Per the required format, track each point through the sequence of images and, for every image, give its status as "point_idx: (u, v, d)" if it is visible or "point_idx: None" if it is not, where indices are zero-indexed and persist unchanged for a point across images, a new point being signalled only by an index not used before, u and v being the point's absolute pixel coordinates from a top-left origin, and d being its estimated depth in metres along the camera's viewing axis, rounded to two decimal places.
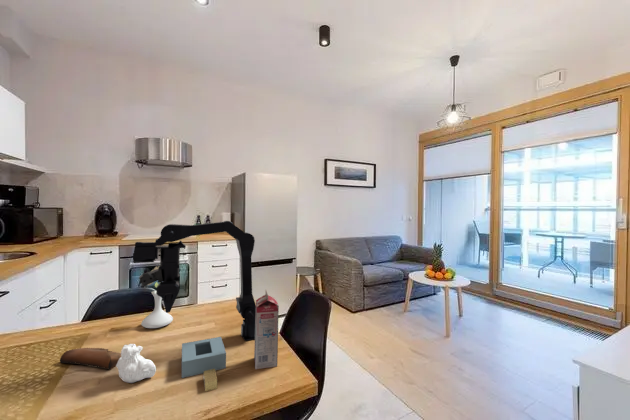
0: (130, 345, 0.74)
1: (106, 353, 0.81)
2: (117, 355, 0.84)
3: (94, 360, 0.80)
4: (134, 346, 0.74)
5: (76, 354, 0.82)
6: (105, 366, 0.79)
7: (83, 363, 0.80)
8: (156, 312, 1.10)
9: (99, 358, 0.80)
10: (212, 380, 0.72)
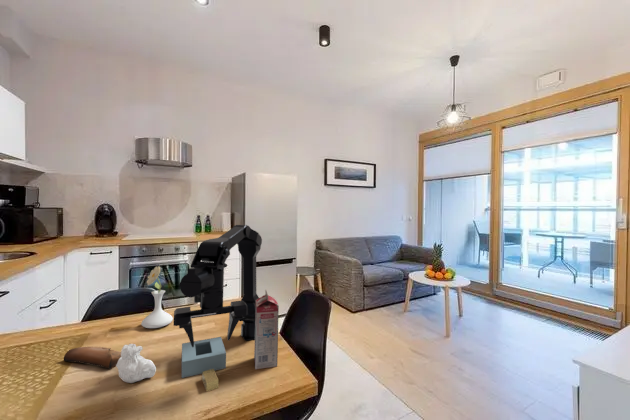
0: (130, 345, 0.74)
1: (107, 352, 0.82)
2: (118, 354, 0.84)
3: (96, 359, 0.80)
4: (134, 346, 0.74)
5: (79, 353, 0.83)
6: (106, 365, 0.79)
7: (85, 362, 0.81)
8: (156, 312, 1.10)
9: (100, 358, 0.80)
10: (213, 379, 0.72)
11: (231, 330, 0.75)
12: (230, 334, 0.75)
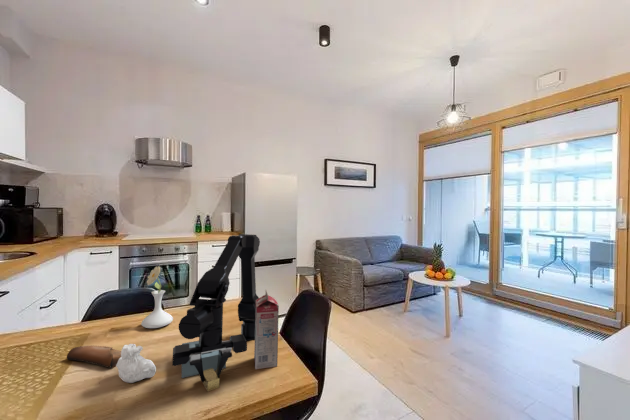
0: (130, 345, 0.74)
1: (109, 351, 0.82)
2: (120, 354, 0.85)
3: (98, 358, 0.81)
4: (134, 346, 0.74)
5: (82, 352, 0.83)
6: (107, 364, 0.80)
7: (87, 361, 0.82)
8: (156, 312, 1.10)
9: (102, 357, 0.81)
10: (214, 378, 0.72)
11: (220, 369, 0.73)
12: (219, 372, 0.74)
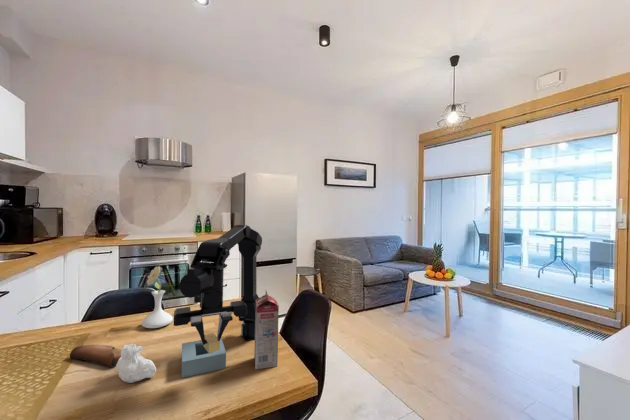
0: (130, 346, 0.74)
1: (110, 351, 0.83)
2: None
3: (99, 358, 0.81)
4: (134, 346, 0.74)
5: (84, 351, 0.84)
6: (108, 364, 0.80)
7: (89, 360, 0.82)
8: (156, 312, 1.10)
9: (103, 356, 0.81)
10: (215, 341, 0.73)
11: (220, 332, 0.74)
12: (220, 336, 0.74)
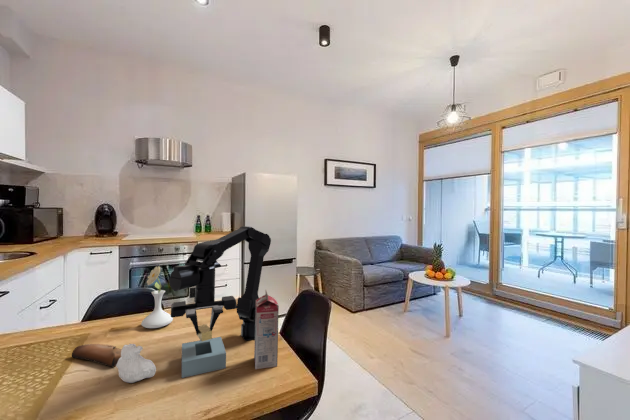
0: (130, 345, 0.74)
1: (111, 350, 0.83)
2: None
3: (100, 357, 0.82)
4: (134, 346, 0.74)
5: (85, 350, 0.84)
6: (109, 363, 0.80)
7: (90, 359, 0.83)
8: (156, 312, 1.10)
9: (104, 355, 0.82)
10: (207, 331, 0.83)
11: (212, 323, 0.84)
12: (212, 327, 0.84)
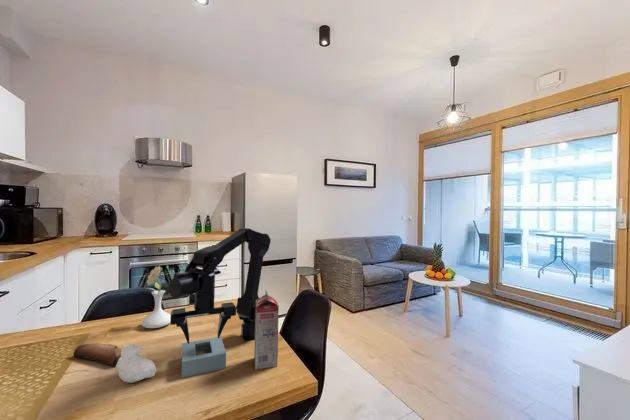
0: (130, 345, 0.74)
1: (113, 350, 0.83)
2: None
3: (102, 356, 0.82)
4: (134, 346, 0.74)
5: (87, 349, 0.85)
6: (110, 363, 0.81)
7: (92, 358, 0.83)
8: (156, 312, 1.10)
9: (106, 355, 0.82)
10: None
11: (220, 329, 0.85)
12: (220, 332, 0.85)
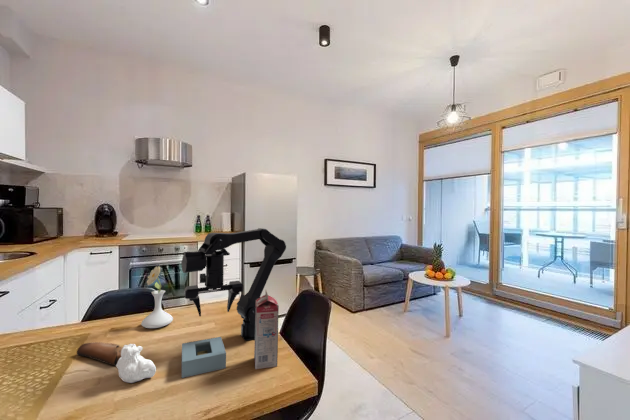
0: (130, 346, 0.74)
1: (114, 349, 0.84)
2: None
3: (103, 356, 0.82)
4: (134, 346, 0.74)
5: (90, 348, 0.86)
6: (111, 362, 0.81)
7: (94, 357, 0.84)
8: (156, 312, 1.10)
9: (107, 354, 0.83)
10: None
11: (230, 303, 0.94)
12: (229, 306, 0.95)
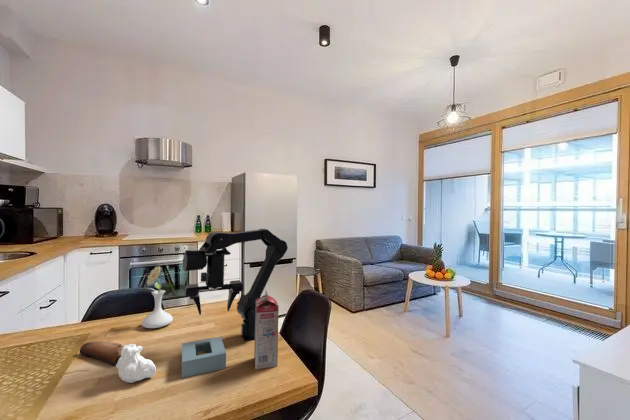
0: (130, 345, 0.74)
1: (116, 349, 0.84)
2: None
3: (105, 355, 0.83)
4: (134, 346, 0.74)
5: (92, 347, 0.86)
6: (113, 361, 0.81)
7: (96, 356, 0.84)
8: (156, 312, 1.10)
9: (109, 353, 0.83)
10: None
11: (230, 302, 0.95)
12: (229, 306, 0.95)
